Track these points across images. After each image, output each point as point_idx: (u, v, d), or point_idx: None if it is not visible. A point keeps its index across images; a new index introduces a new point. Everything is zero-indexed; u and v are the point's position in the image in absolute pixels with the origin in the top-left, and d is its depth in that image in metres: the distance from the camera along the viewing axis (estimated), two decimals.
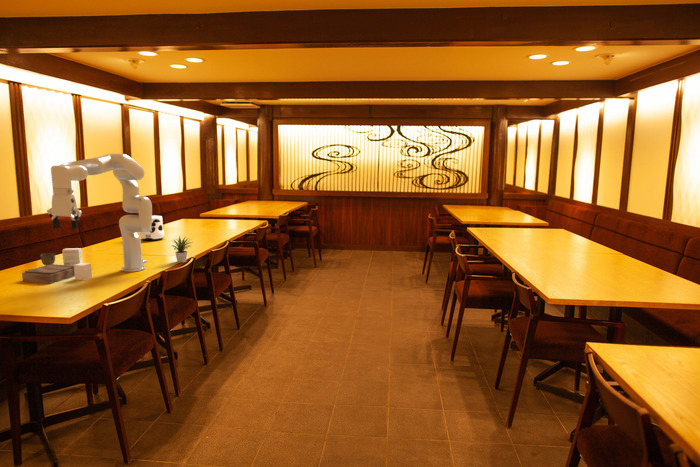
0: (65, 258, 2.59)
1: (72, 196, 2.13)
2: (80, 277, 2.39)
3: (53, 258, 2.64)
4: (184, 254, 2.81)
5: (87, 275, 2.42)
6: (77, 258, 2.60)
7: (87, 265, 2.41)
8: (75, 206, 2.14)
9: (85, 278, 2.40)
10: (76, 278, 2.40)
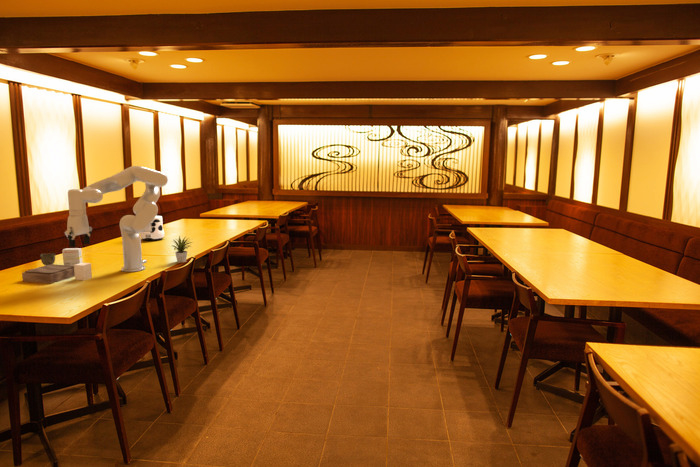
0: (65, 258, 2.59)
1: None
2: (80, 277, 2.39)
3: (53, 258, 2.64)
4: (184, 254, 2.81)
5: (87, 275, 2.42)
6: (77, 258, 2.60)
7: (87, 265, 2.41)
8: None
9: (85, 278, 2.40)
10: (76, 278, 2.40)
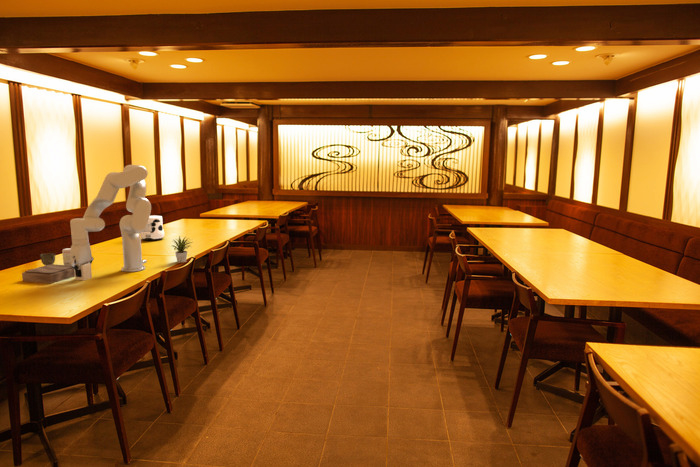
0: (65, 258, 2.59)
1: None
2: (80, 277, 2.39)
3: (53, 258, 2.64)
4: (184, 254, 2.81)
5: (87, 275, 2.41)
6: None
7: (87, 265, 2.41)
8: None
9: (85, 278, 2.40)
10: (76, 278, 2.40)
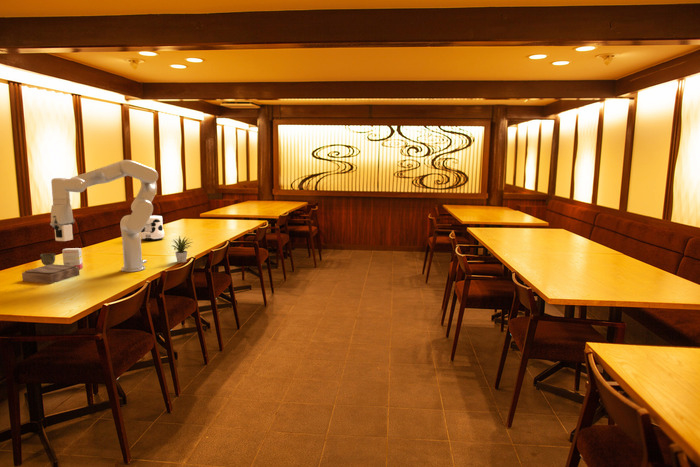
0: (65, 258, 2.59)
1: None
2: None
3: (53, 258, 2.64)
4: (184, 254, 2.81)
5: (68, 236, 2.38)
6: (77, 258, 2.60)
7: (68, 226, 2.38)
8: None
9: (66, 239, 2.37)
10: (56, 239, 2.36)
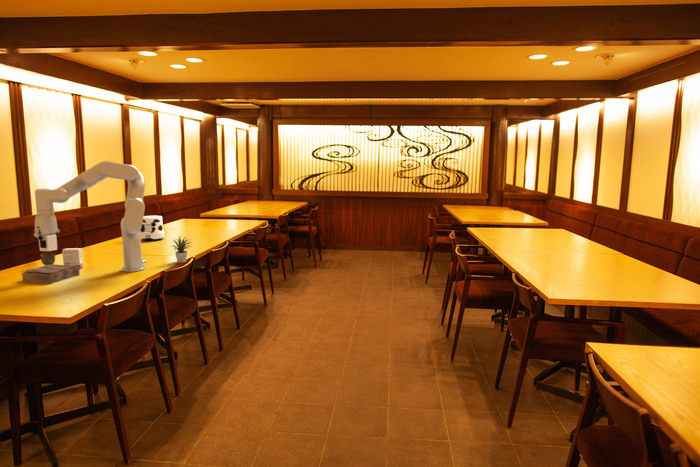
0: (65, 258, 2.59)
1: None
2: (45, 248, 2.37)
3: (53, 258, 2.64)
4: (184, 254, 2.81)
5: (52, 246, 2.39)
6: (77, 258, 2.60)
7: (52, 236, 2.39)
8: None
9: (50, 249, 2.38)
10: (41, 249, 2.38)
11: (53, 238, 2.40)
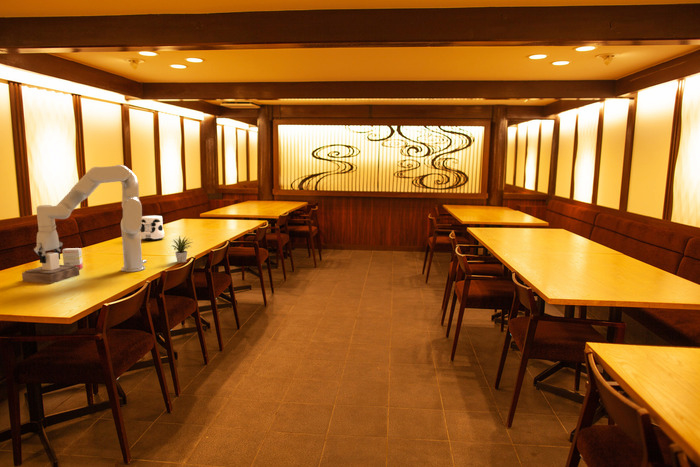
0: (65, 258, 2.59)
1: None
2: (48, 266, 2.39)
3: None
4: (184, 254, 2.81)
5: (55, 264, 2.41)
6: (77, 258, 2.60)
7: (54, 255, 2.41)
8: None
9: (52, 268, 2.40)
10: (43, 268, 2.40)
11: (55, 256, 2.41)
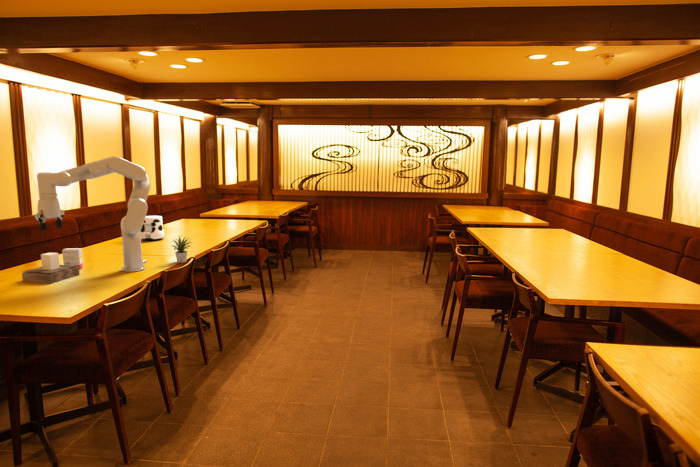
0: (65, 258, 2.59)
1: None
2: (48, 266, 2.39)
3: None
4: (184, 254, 2.81)
5: (55, 264, 2.41)
6: (77, 258, 2.60)
7: (54, 255, 2.41)
8: None
9: (52, 268, 2.40)
10: (43, 268, 2.40)
11: (55, 256, 2.41)
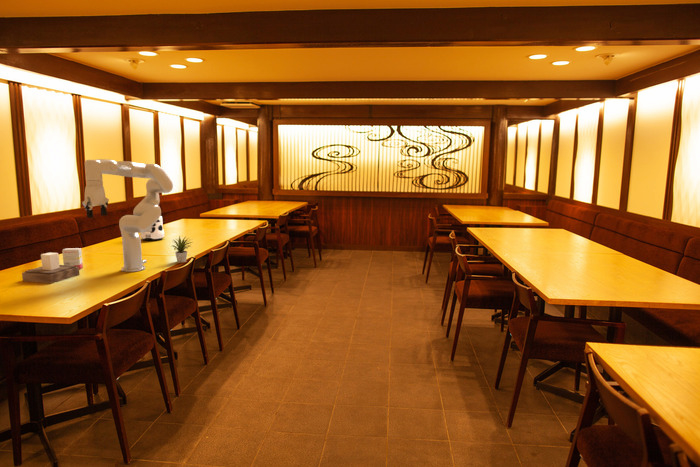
0: (65, 258, 2.59)
1: None
2: (48, 266, 2.39)
3: None
4: (184, 254, 2.81)
5: (55, 264, 2.41)
6: (77, 258, 2.60)
7: (54, 255, 2.41)
8: None
9: (52, 268, 2.40)
10: (43, 268, 2.40)
11: (55, 256, 2.41)
